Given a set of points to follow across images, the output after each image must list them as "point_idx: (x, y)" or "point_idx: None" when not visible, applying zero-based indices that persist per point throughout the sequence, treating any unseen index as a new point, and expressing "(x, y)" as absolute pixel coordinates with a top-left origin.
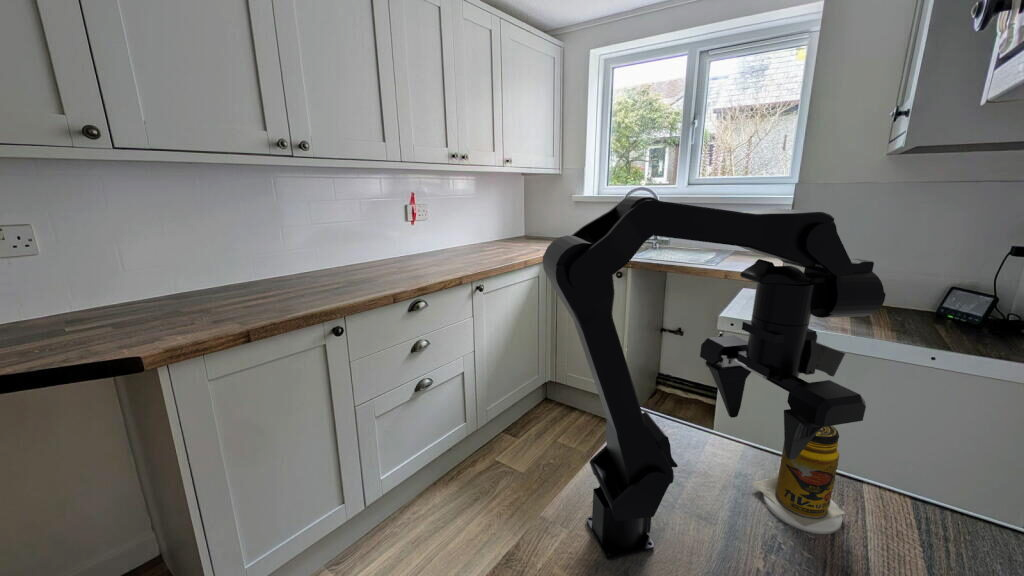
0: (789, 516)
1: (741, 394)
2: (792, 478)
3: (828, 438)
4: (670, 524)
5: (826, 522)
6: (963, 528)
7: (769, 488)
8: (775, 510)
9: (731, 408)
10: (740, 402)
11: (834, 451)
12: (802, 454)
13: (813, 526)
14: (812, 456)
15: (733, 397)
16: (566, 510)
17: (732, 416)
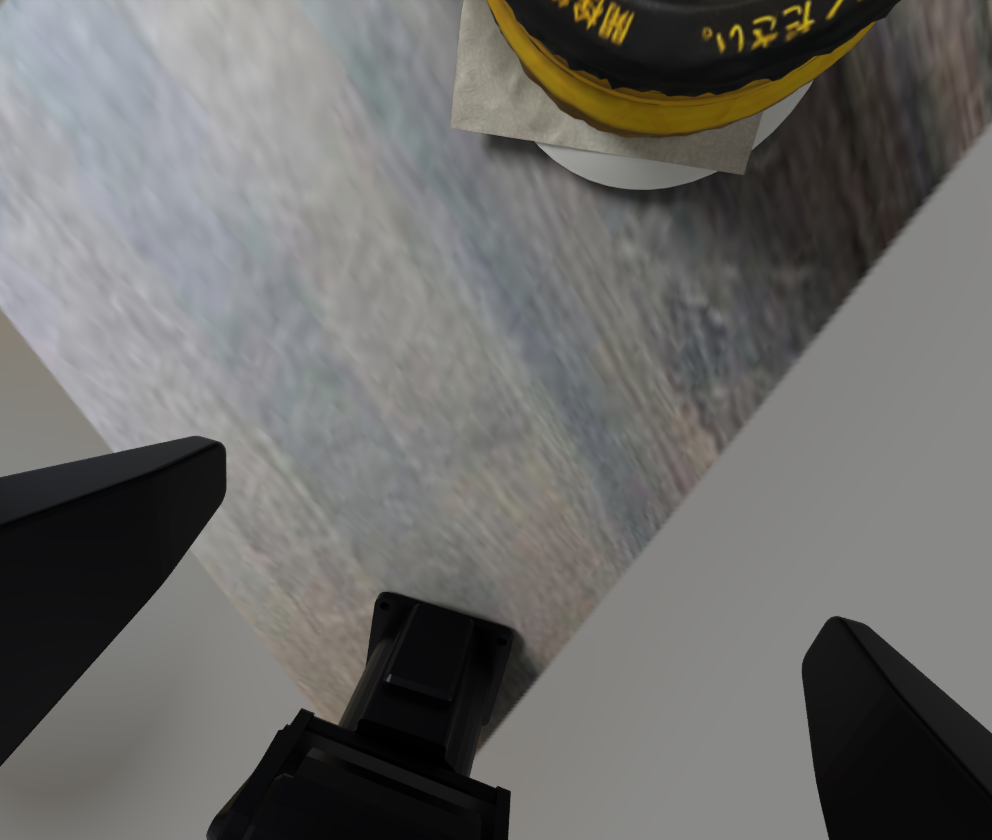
0: (670, 167)
1: (2, 552)
2: (653, 137)
3: None
4: (466, 535)
5: None
6: None
7: (516, 69)
8: (613, 185)
9: (162, 559)
10: (108, 503)
11: None
12: (710, 122)
13: (768, 126)
14: (792, 85)
15: (50, 631)
16: (322, 687)
17: (221, 495)
